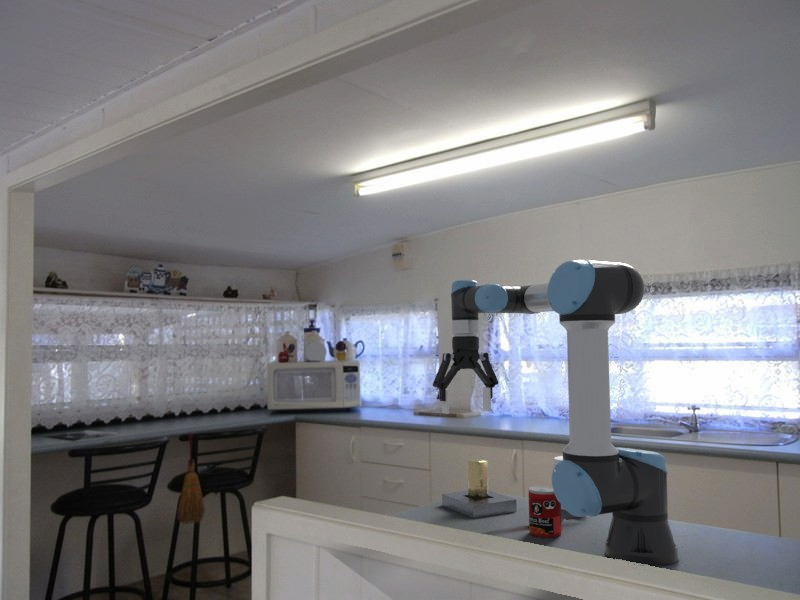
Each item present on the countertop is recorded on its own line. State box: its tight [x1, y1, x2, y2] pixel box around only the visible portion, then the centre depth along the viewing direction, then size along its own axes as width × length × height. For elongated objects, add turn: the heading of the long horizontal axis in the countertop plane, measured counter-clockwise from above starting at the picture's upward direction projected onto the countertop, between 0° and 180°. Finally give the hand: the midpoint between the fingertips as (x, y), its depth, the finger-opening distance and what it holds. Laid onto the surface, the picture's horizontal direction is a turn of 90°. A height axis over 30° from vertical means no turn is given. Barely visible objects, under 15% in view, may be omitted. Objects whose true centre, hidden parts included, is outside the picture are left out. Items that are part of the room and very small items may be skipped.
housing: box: [441, 489, 518, 519], centre depth 189 cm, size 16×14×4 cm
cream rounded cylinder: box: [467, 458, 489, 500], centre depth 189 cm, size 6×6×13 cm
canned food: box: [528, 484, 563, 539], centre depth 168 cm, size 8×8×11 cm
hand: (466, 412), depth 189 cm, fingers open, 13 cm apart
